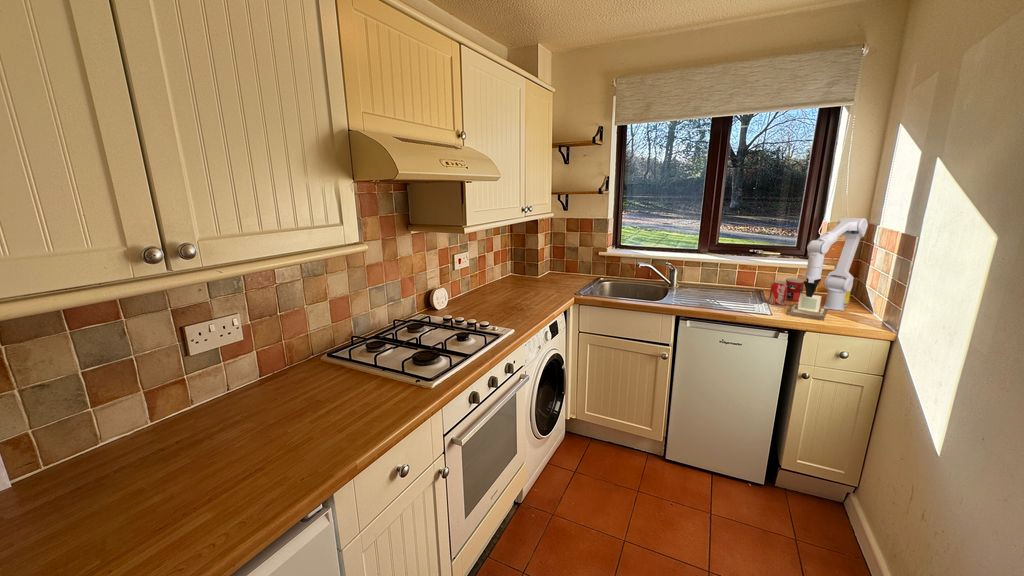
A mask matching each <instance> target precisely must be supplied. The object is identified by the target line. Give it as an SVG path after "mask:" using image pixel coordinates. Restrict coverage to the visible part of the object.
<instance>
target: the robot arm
mask: <svg viewBox="0 0 1024 576" xmlns="http://www.w3.org/2000/svg"><path fill="white" fill-rule="evenodd" d="M868 227H869V224H868V220H867V219H866V218H864V217H863V218H862V217H860V218H859V217H845V216H842V217H841V218H839V219H838V221H837V224H836V226H835V227H834V228H833V229H832V230H831V231H825V232H824V233H823V234H822V235H821V236H819V237H818V238H817V239H816V240H815V239H812V240H811V241H810V242H808V244H807V247H806V249H807V256H808V259H807V266H806V272H805V274H802V277H803V278H806V280H804V287H805V294H806V297H812V296H813V295H815V292H816V290H817V287H818V286H819V284H820V282H821V281H822V272H823V265H824V261H825V255H826V254H827V253H828V252H829V249H830V248H831V246H832V245H833V244H835V243H836V242H837V241H838V239H839V237H840V236H841V235H842V236H844V237H845V238H846V239H845V242H844V245H843V247H842V251H841V253H840V257H839V259H838V262H837V265H836V268H835V269H834V270H832V271H830V272H828V274H827V276H826V277H825V279H824V282H823V285H824V287H825V289H826V290H827V293H826V299H825V303H824V304H823V307H822V308H827V309H828V310H834V311H840V312H841V311H842V312H844V311H845V307H846V306H844V301H845V296H846V292H848V291H849V290H851V291H852V288H853V285H854V280H855V279H854V278H855V277H854V276H853V275H852V274H851V273H850V272H849V271H850V269H851V266H852V263H853V262H854V261H853V260H854V257H855V254H856V252H857V249H858V247H859V243H860V241H861V238H864V237H865V234H866V232H867V229H868Z"/></svg>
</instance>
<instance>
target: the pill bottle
mask: <svg viewBox="0 0 1024 576" xmlns="http://www.w3.org/2000/svg"><path fill="white" fill-rule="evenodd" d="M851 293H852V289H851V290H849V291H848V292H846V296H845V301H844V306H845V307H847V306H849V303H850V299H851Z"/></svg>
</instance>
